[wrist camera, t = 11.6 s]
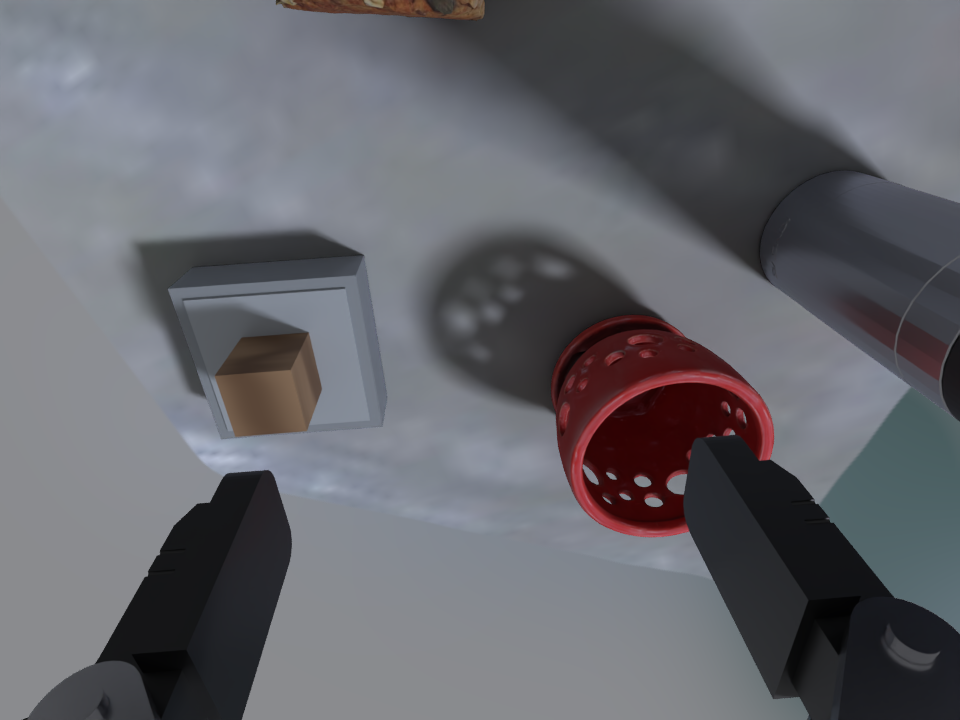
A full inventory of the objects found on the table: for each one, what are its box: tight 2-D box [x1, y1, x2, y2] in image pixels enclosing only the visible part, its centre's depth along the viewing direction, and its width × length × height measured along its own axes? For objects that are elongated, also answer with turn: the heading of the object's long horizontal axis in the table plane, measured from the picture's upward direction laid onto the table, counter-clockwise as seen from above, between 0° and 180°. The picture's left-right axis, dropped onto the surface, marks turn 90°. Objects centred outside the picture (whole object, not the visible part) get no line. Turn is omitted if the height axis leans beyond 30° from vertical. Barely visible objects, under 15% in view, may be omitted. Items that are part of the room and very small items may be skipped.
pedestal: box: [168, 255, 387, 439], centre depth 40 cm, size 12×12×4 cm
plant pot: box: [551, 315, 774, 537], centre depth 40 cm, size 13×13×12 cm
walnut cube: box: [215, 332, 322, 437], centre depth 36 cm, size 4×4×5 cm
